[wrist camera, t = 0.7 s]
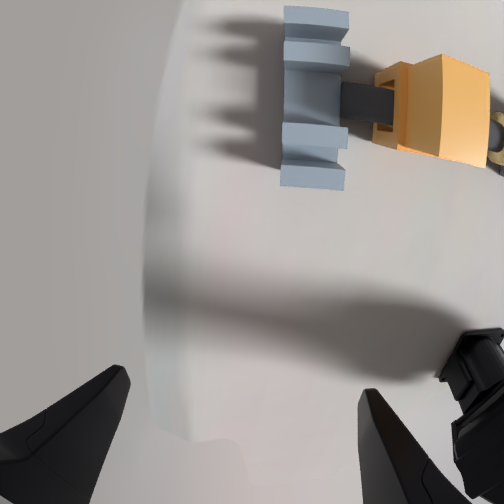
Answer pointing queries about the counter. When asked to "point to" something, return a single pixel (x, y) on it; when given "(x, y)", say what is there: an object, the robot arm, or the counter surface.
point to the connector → (502, 171)
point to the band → (500, 157)
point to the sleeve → (437, 110)
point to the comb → (313, 97)
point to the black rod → (391, 109)
